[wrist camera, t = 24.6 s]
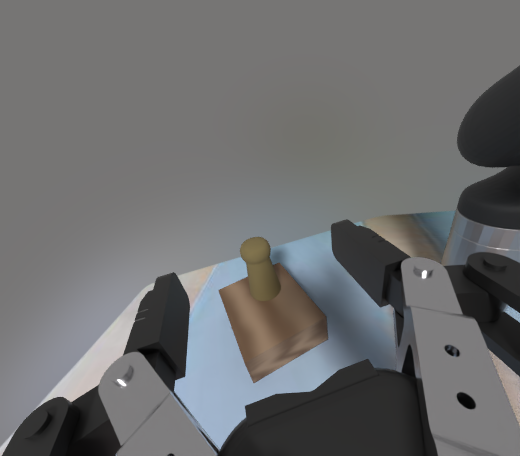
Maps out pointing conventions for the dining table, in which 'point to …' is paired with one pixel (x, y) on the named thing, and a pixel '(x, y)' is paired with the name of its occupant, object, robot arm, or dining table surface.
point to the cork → (260, 269)
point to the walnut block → (273, 324)
